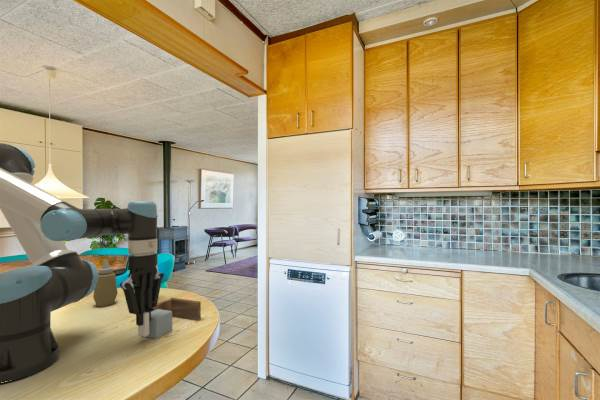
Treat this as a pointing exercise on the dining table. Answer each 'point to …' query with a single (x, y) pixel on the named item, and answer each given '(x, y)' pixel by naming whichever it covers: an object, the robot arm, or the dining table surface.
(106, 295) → the squeeze bottle
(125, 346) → the dining table surface
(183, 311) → the corner fence
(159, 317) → the grey block
